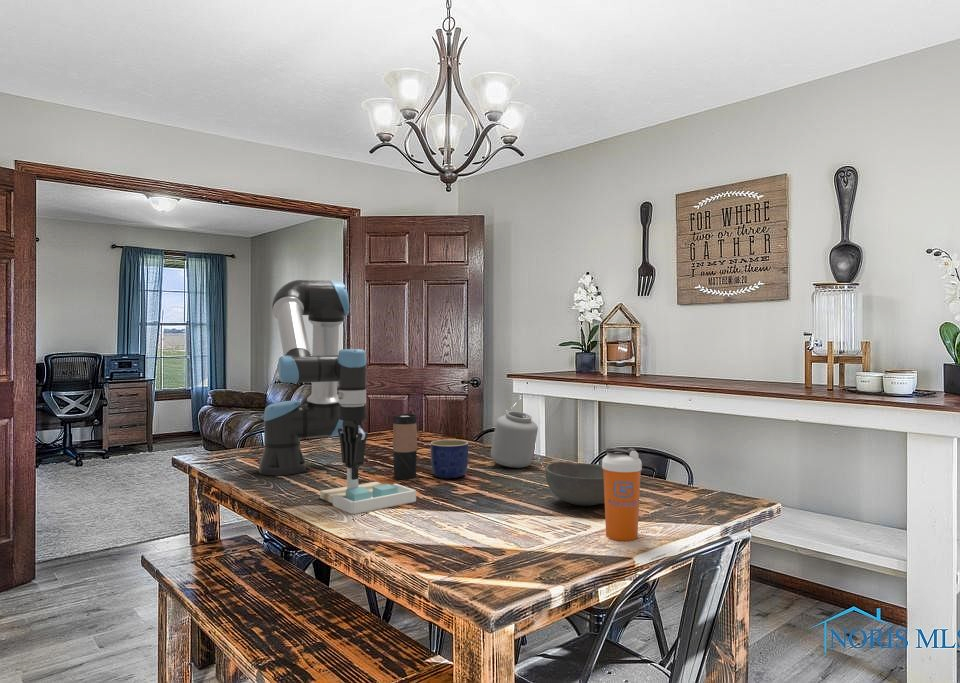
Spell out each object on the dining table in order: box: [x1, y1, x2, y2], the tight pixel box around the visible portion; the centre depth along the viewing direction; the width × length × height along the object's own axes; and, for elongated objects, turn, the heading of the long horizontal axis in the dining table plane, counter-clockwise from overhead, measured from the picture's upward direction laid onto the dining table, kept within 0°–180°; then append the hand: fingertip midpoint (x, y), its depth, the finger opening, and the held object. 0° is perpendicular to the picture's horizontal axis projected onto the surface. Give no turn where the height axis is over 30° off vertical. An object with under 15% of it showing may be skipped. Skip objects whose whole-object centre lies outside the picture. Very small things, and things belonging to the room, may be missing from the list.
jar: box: [490, 395, 544, 469], centre depth 224 cm, size 19×15×25 cm
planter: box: [429, 439, 469, 479], centre depth 209 cm, size 12×12×11 cm
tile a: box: [373, 483, 398, 498], centre depth 179 cm, size 5×5×3 cm
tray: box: [332, 483, 417, 515], centre depth 175 cm, size 11×20×3 cm, turn 130°
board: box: [319, 481, 386, 504], centre depth 183 cm, size 10×18×2 cm, turn 130°
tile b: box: [346, 487, 371, 501], centre depth 174 cm, size 5×5×3 cm
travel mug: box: [392, 413, 418, 480], centre depth 207 cm, size 8×8×20 cm
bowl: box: [544, 461, 605, 507], centre depth 174 cm, size 20×20×10 cm
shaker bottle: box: [601, 447, 643, 542], centre depth 146 cm, size 9×9×20 cm
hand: (352, 490), depth 176 cm, fingers closed
